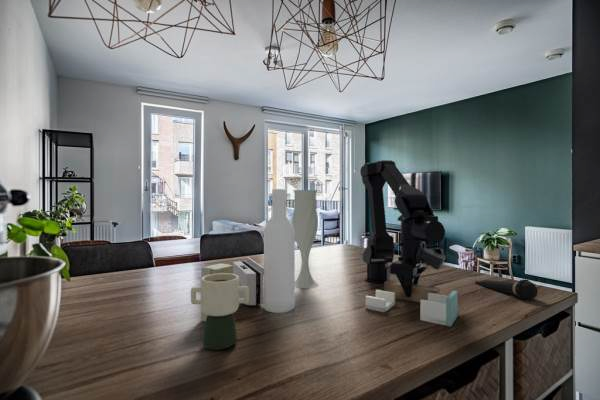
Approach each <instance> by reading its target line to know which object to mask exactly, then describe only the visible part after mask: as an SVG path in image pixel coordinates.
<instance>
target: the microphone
mask: <svg viewBox="0 0 600 400" xmlns="http://www.w3.org/2000/svg"><path fill="white" fill-rule="evenodd" d="M474 283H475V284H477V285H480V286H482V287H484V288H488V289H491V290H494V291H497V292H498V291H499V292H501V293H502V292H503V293H505V294H511V295H516V296H517V297H518V298H519V299H520V300H523V301H528V299H529V300H533V299H535V298H536V297H537V296H538V293H539V291H538V288H537V285H536V284H534V283H533V282H532V281H530V280H529V279H520V280H518V281H516V282H515V281H499V280H491V279H489V280H488V279H484V280H482V281H481V280H476V281H474Z"/></svg>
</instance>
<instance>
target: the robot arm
mask: <svg viewBox="0 0 600 400" xmlns="http://www.w3.org/2000/svg"><path fill="white" fill-rule="evenodd" d="M396 165H397V164H396V162H395V161H394V160H389V159H388V160H387V159H386V160H385V159H380V160H377V161H375V162H370V163H369V162H367V163H364V164H363V165H362V166H361V168H360V176H361V181H362V184H363V185H364V186H365V188H366V190H367V193H368V203H369V204H368V205H369V216H370V229H371V233H370V234H369V237H368V239H367V243H366V245H367V246H366V248H365V250H364V251H363V254H362V261H363V262H364V263H366V278H365V279H364V281H365V282H371V283H377V284H384V283H385V282H387V281H388V280H391V278H390V277H391V274H392V275H395V276H396V278H397V279H398V282H400V284H401V286H402V288H403V290H404V292H405V295H406V297H411V293H412V287H413V284H417V285H419V283H420V279H421V276H422V274H423V273H424V272H425V271H426V270H428V267H429V266H430V267H432V269H434V270H440V269H441V268H442V267H443V265H444V262H445V261H446V255H445V254H444V249H443V248H439V247H437V248H435V249H434V250H433V249H432V248H431V249H430V248H427V245H426V243H429V244H434V245H436V244H439V243H440V242H442V241H443V239H444V238H445V236H446V229H445V227H444V225H443V223H442V222H440V221H439V216H438V215H435V214H434V210H433V209H432V207H431V205H430V202H429V201H428V198H427V196H426V194H424V193H423V192H422V191H421V190H420V189H418V188H417V187H414V186H412V185H411V184H410V183H409V182H408V180H407V179H406V177H404V175H403V174H402V172H401V171H400V170H399V169H398V167H397V166H396ZM386 183H387V185H388V186H389V188H390V189H391V190H392V192H393V194H394V196H395V199H394V204H395V206H396V208H397V210H398V212H399V213H400V214H401V215H399V216H397V221H398V222H400V241H399V242H398V247H400V256H398V257H397V259H398V260H396V261H394V257H395V252H396V249H395V243H394V239H395V238H394V236H393V235H390V233H389V232H388V231H387V222H386V220H387V219H386V210H385V200H384V199H385V198H384V189H383V188H384V186H385V184H386ZM393 261H394V262H393ZM423 264H425V265H426V267H425V266H423Z"/></svg>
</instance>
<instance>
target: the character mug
mask: <svg viewBox="0 0 600 400" xmlns="http://www.w3.org/2000/svg"><path fill="white" fill-rule="evenodd" d="M200 279H201V280H200V286H193V287H191V289H190V302H191V304H192V305H200V311H201V310H202V312H203V313H204V314H206V315H208V316H207V318H206V322H204V323H205V324H204V331H203V341H202V342H203V343H202V344H203V346H205V347H206V348H207V349H210V350H213V351H215V350H217V351H218V350H219V351H220V350H224V349H227V348H230V347H231V346H233V345H235V344H236V343H237V341H238V337H237V336H238V335H237V329H236V320H235V315H234V313H235V312H237V310H238V309H239V307H240V304H245V303H248V302H249V287H247V286H239V277H238V275H235V274H230V273H218V274H211V275H207V276H204V277H202V276H201V278H200ZM239 291H244V298H239ZM197 293H200V298H197ZM232 313H233V314H232Z"/></svg>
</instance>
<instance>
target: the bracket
mask: <svg viewBox="0 0 600 400" xmlns="http://www.w3.org/2000/svg"><path fill="white" fill-rule="evenodd" d="M232 265H233V274H235V275H238V277H239V286H247V287H249V302H248V303H244V305H246V306H257V305H260V306H261V305H264V301H263V297H264V266H262V265H261V264H259V263H258V262H256V261H254V260H253V259H252V258H250V257H249V256H247V257H246V260H243V261H242V260H241V261H240V260H239V261H232ZM239 298H244V291H239Z"/></svg>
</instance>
